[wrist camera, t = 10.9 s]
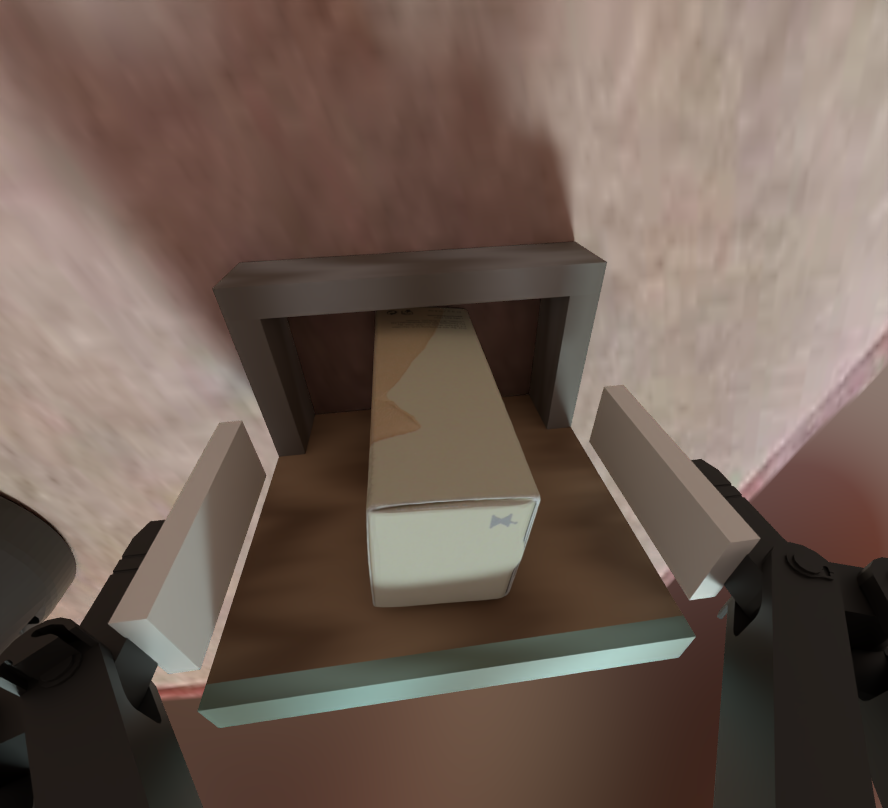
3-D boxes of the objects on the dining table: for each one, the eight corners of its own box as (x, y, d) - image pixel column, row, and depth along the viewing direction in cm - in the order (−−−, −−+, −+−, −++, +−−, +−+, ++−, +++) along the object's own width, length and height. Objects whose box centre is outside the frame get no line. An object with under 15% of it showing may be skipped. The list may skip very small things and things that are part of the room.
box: (375, 304, 17) (362, 500, 8) (469, 306, 18) (551, 492, 9) (378, 399, 20) (370, 616, 11) (458, 399, 21) (510, 604, 12)
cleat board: (299, 437, 21) (219, 728, 11) (239, 262, 15) (-37, 528, 5) (546, 413, 22) (678, 657, 12) (575, 241, 17) (867, 430, 6)
